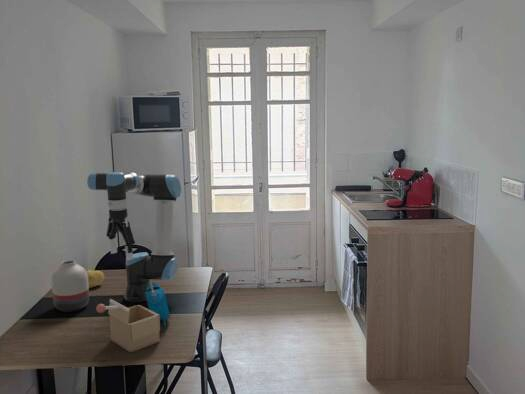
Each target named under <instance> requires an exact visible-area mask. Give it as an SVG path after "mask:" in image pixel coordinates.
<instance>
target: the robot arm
mask: <svg viewBox="0 0 525 394" xmlns="http://www.w3.org/2000/svg"><path fill="white" fill-rule="evenodd" d="M86 181H87V187H88V189H89V190H92V191H107V205H108V209H109V210H108V214H109V215H108V223H107V231H106V237H107V238H108V239H109V245H110V246H109V248H110V255H113V254H117V253H118V245H117V236H116V235H117V233H118V232H119V233H120V234H121V236H122V239H123V240H124V242H125V245H124V249H125V257H126V258H125V271H126V272H125V274H126V287H125V291H124V300H125V301H126V302H129V303H142V302H147V298H146V292H147V290H146V289H147V286H148V285H149V284H150V281H151V280H155V281H156V280H157V281H163V282H164V281H172V280H173V279H174V278H175V277H176V274H177V273H178V269H179V268H178V267H179V260H178V258H176V257H175V252H173V250H172V246H173V245H172V243H173V219H174V216H173V215H174V204H175V203H176V202H177V199H178V198H179V197H180V196H181V193H182V187H181V186H182V185H181V182H180V180H179V178H178V176H176V175H174V174H151V173H149V174H140V175H139V174H137V173H136V172H132V171H131V172H126V173H124V172H122V171H114V172H109V173H104V172H103V173H101V172H93V173H90V174H89V175H88V176H87V180H86ZM127 192H128V193H130V194H132V195H137V196H142V197H151V198H153V199H152V200H153V201H154V203H155V205H156V206H155V229H154V232H155V233H154V251H152V252H151V253H150V254H149V253H148V252H146V251H145V252H143V251H142V252H137V253H136V252H135V253H133V245H135V244H136V241H135V239H134V236H133V231H132V228H131V226H130V225H131V223H130V221H126V218H127V217H128V208H127V207H128V203H127V202H128V200H127ZM150 255H151V256H150Z"/></svg>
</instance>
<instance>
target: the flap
mask: <svg viewBox="0 0 525 394" xmlns="http://www.w3.org/2000/svg"><path fill="white" fill-rule="evenodd" d="M95 310H96V312H98V313H99V314H102V313H105V311H106V310H108V311H107V312H108V313H107V314H108V315H109V314H110V315H111V316H113V317H115V318H116V319H118V320H120V321H122V322H123V323H125V324H128V321H129V314H130V309H129V307H127V306H125V305H123V304H121V303H119V302H118V301H116V300H114V299H112V298H109V305H105V304H104V303H99V304H97V305H96V309H95Z"/></svg>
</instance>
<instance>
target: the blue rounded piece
mask: <svg viewBox="0 0 525 394" xmlns="http://www.w3.org/2000/svg"><path fill="white" fill-rule="evenodd" d="M146 290H147V292H146V298H147V301H146V302H147V306H148V309H149V310H151V311H153V312H155V313H157V314H159V317H160V321H162V320H163V326H164V327H166V324H167V323H166V319H168V318H170V316H171V315H170V311H169V307H168V301H167V298H166V293H165V290H164V288H161V286H160V285H159V284H158V283H157V282H154V281H152V280H150V284H149V285H148V286H147V289H146Z"/></svg>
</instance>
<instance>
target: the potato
mask: <svg viewBox="0 0 525 394" xmlns="http://www.w3.org/2000/svg"><path fill="white" fill-rule="evenodd" d="M86 272H87V275H88V286H89V289H90V288H94V287H98V286H99V285H101V284H102V283H103V281H104V279H105V274H104V272H103V271H101V270H91V269H89V270H86Z"/></svg>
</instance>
